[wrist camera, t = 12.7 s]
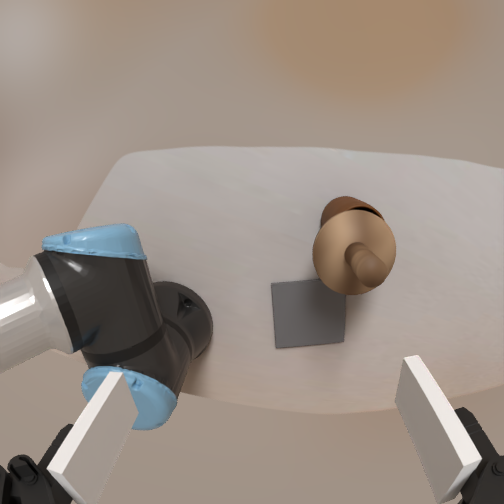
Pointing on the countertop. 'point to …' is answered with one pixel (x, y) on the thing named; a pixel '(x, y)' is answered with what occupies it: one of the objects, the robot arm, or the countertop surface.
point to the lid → (354, 252)
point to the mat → (307, 313)
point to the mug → (345, 207)
